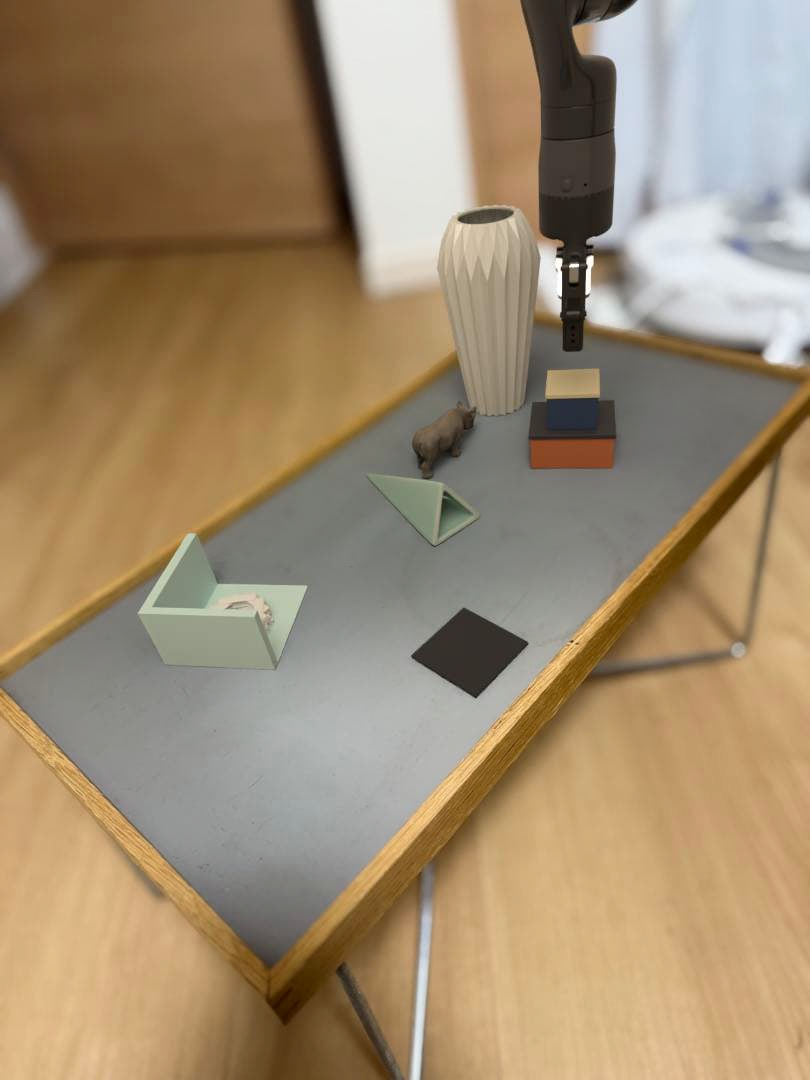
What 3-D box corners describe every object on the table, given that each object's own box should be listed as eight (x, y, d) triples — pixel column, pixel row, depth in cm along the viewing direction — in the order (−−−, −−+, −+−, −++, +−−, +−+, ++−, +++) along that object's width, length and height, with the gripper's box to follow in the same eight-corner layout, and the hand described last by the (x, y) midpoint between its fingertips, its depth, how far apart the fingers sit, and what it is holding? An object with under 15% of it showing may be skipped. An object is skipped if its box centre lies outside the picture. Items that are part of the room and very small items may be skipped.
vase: (433, 412, 104) (410, 227, 87) (487, 374, 111) (475, 195, 94) (507, 436, 96) (496, 237, 80) (560, 393, 103) (561, 202, 87)
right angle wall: (274, 669, 69) (254, 617, 64) (165, 664, 72) (137, 613, 67) (307, 585, 78) (291, 533, 73) (209, 583, 81) (187, 533, 76)
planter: (324, 501, 90) (417, 531, 77) (348, 458, 91) (443, 481, 78) (364, 528, 95) (457, 561, 82) (386, 487, 96) (481, 513, 83)
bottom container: (612, 433, 93) (614, 399, 90) (614, 469, 87) (616, 434, 84) (533, 434, 96) (532, 401, 93) (529, 469, 90) (528, 435, 86)
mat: (464, 609, 72) (463, 606, 72) (528, 644, 67) (528, 641, 67) (411, 658, 68) (411, 655, 68) (475, 698, 63) (475, 695, 63)
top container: (597, 404, 90) (599, 368, 87) (598, 430, 85) (600, 393, 82) (547, 405, 91) (547, 370, 88) (545, 431, 87) (545, 394, 84)
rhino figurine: (491, 431, 98) (488, 392, 94) (432, 482, 90) (426, 442, 87) (467, 424, 100) (463, 386, 96) (407, 473, 93) (401, 434, 89)
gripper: (616, 198, 65) (608, 361, 75) (612, 161, 75) (605, 307, 86) (534, 206, 67) (537, 363, 77) (541, 168, 77) (543, 311, 87)
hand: (573, 334), depth 81 cm, fingers open, 8 cm apart
